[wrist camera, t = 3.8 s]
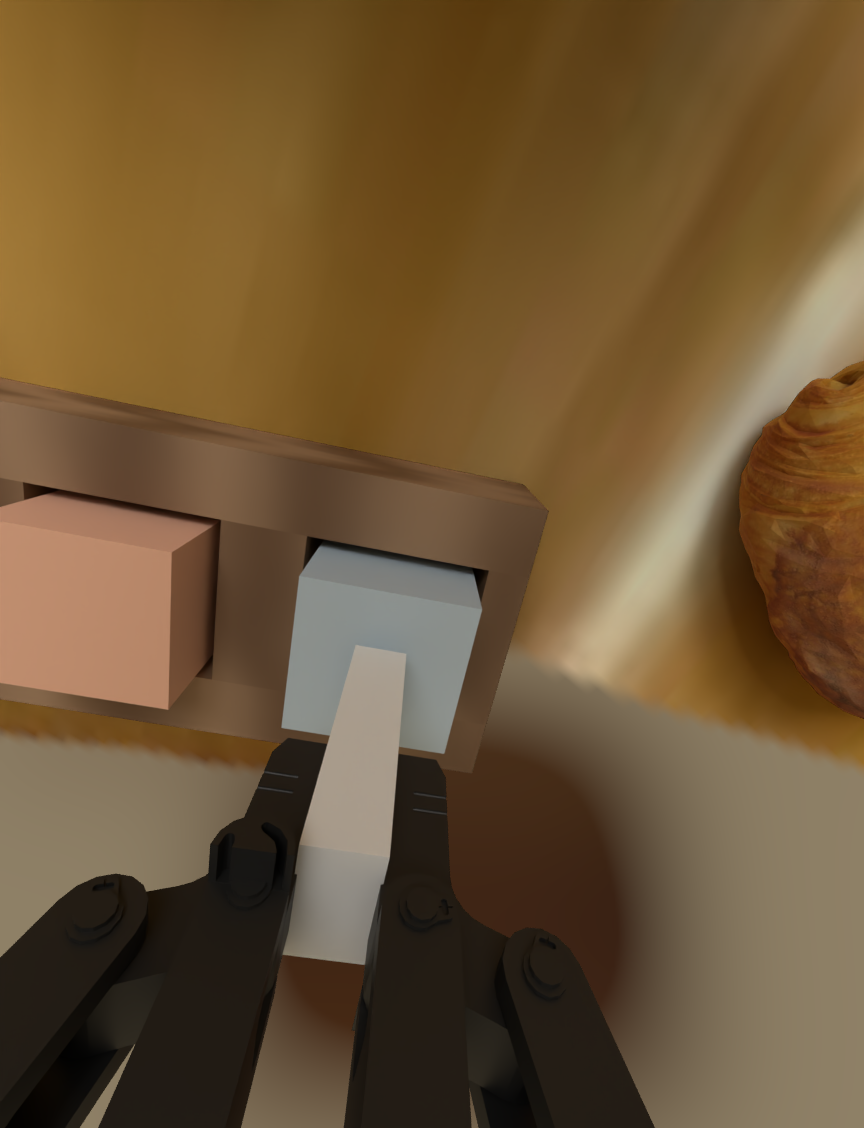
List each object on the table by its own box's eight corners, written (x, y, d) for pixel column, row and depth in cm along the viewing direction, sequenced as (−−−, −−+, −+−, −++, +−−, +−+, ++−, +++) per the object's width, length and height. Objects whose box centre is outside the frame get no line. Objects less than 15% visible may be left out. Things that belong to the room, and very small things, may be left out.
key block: (-125, 605, 22) (-259, 658, 17) (-180, 341, 18) (-367, 326, 14) (464, 704, 24) (472, 773, 19) (523, 484, 20) (548, 511, 16)
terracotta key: (85, 618, 19) (-10, 681, 15) (79, 485, 17) (-30, 515, 13) (223, 641, 20) (168, 709, 15) (231, 514, 18) (171, 552, 14)
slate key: (312, 656, 20) (281, 728, 16) (329, 532, 18) (299, 576, 14) (441, 678, 20) (444, 753, 16) (470, 559, 18) (482, 609, 14)
